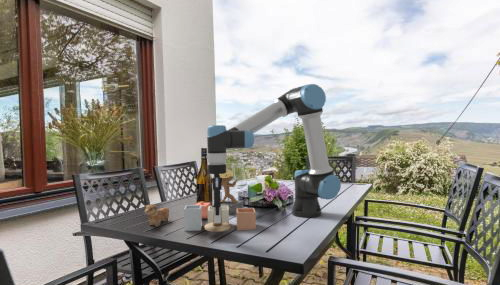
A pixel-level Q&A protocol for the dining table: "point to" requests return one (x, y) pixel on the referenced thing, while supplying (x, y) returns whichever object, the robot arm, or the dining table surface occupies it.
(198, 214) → the light blue square vase
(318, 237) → the dining table surface
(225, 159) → the robot arm
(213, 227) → the lid
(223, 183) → the figurine
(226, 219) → the cream square box
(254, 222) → the terracotta pot
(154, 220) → the figurine
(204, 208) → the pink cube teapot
